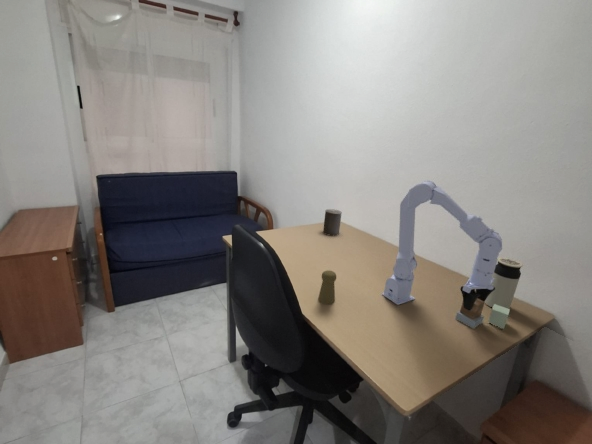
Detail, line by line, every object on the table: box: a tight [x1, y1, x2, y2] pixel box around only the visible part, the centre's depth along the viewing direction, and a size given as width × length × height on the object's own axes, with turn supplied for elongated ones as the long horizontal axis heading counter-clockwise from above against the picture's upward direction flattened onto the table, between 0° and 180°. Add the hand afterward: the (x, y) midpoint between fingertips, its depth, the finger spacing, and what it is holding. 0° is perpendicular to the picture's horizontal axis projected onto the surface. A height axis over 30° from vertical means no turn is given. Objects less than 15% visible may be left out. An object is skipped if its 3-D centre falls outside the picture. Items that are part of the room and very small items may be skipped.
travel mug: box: [484, 257, 524, 309], centre depth 107 cm, size 8×8×18 cm
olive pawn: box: [317, 269, 337, 305], centre depth 104 cm, size 6×6×11 cm
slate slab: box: [455, 310, 485, 329], centre depth 99 cm, size 6×6×3 cm
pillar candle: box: [322, 208, 343, 236], centre depth 175 cm, size 10×10×15 cm
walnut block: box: [459, 298, 486, 320], centre depth 97 cm, size 4×4×6 cm
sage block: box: [487, 304, 511, 330], centre depth 98 cm, size 4×4×6 cm
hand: (472, 306), depth 97 cm, fingers open, 6 cm apart
